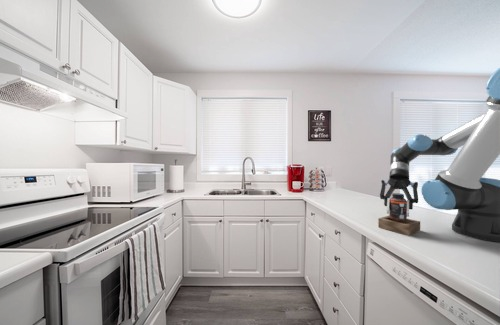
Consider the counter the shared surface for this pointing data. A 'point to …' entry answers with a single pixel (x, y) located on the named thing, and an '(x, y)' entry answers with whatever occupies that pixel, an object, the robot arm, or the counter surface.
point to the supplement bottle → (398, 207)
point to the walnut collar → (399, 225)
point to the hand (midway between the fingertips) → (397, 213)
